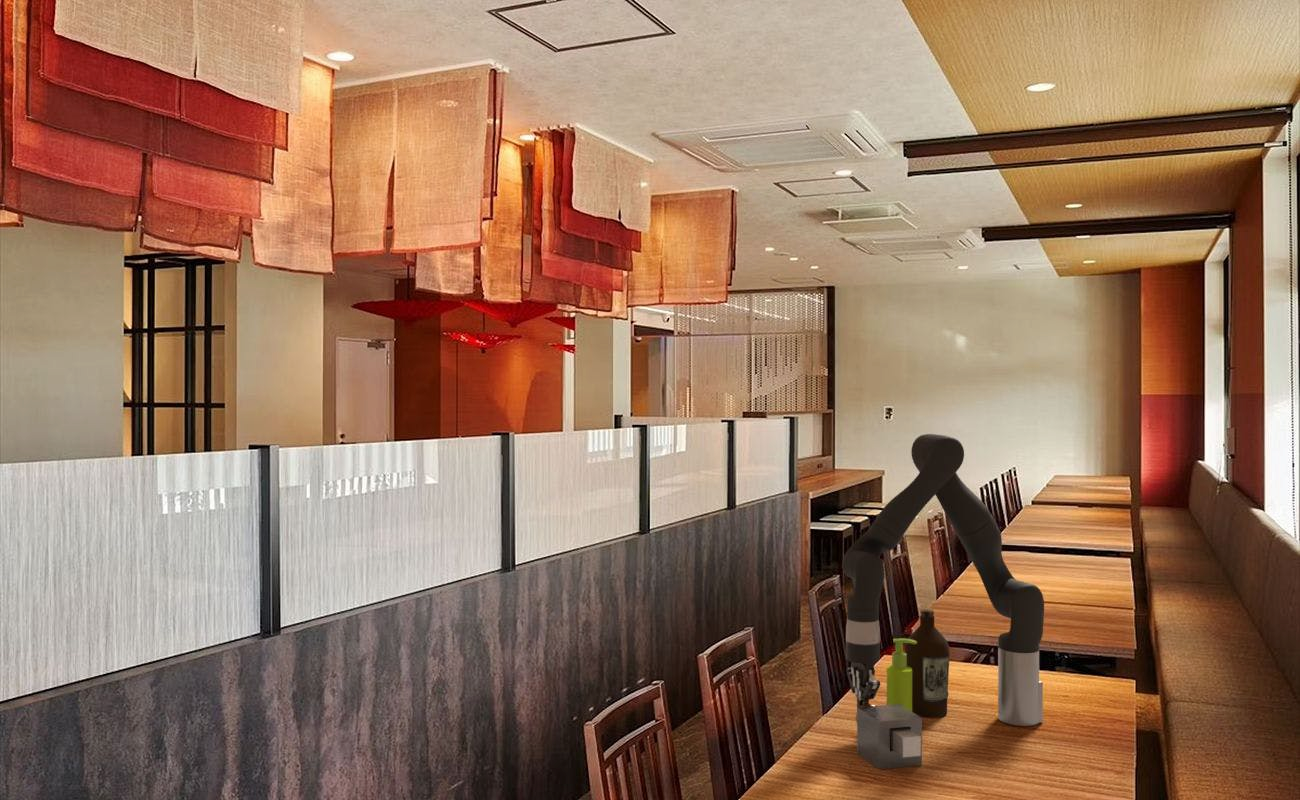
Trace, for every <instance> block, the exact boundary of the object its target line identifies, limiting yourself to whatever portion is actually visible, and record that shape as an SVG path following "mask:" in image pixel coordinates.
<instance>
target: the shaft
mask: <svg viewBox="0 0 1300 800" xmlns="http://www.w3.org/2000/svg"><path fill="white" fill-rule="evenodd" d="M869 706H876V705H875V704H873V703H869V704H864V705H863V706H861V707H869ZM855 721H856V722H855V723H857V713H856V714H855ZM890 748H891V749H892V750H893V751H895V752H896V753H897V754H899V755H900V756H902V757H913V756H921V736H920V735H918V734H916V733H915V732H913V731H912V730H910V729H909V728H907V727H900V728H890Z"/></svg>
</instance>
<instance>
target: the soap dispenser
mask: <svg viewBox="0 0 1300 800" xmlns="http://www.w3.org/2000/svg"><path fill="white" fill-rule="evenodd" d="M892 640H893V644H895V650H894V652H892V653H891V665H888V666H886V705H893V704H900V705H902V706H903V707H905V708H907V709H908V710H910V711H911V712H912V668H911V667H908V666H907V654H906V653H905V651H904V644H906V643H911V644H916V643H917V641H915V640H911V639H908V638H905V637H904V638H903V637H902V638H893V639H892Z"/></svg>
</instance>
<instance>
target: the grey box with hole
mask: <svg viewBox="0 0 1300 800" xmlns="http://www.w3.org/2000/svg"><path fill="white" fill-rule="evenodd" d="M856 714H857V722H856V724H857V725H856V726H857V727H856V729H857V732H856V736H857V737H856V738H857V740H856V742H857V744H856V746H857V749H856V750H857V751H856V752H857V755H859V756H860V757H861V758H862V759H864V760H865V761H867V763H869V764H871V765H872V766H873V767H874V768H876V770H878V771H879V770H887V769H898V768H909V767H915V766H916V767H918V766H922V765H923V717H920V716H918V715H916V714H915V713H913V712H911V711H910V710H908V709H907V708H905V707H903V706H902V705H900V704H893V705H887V704H885V705H875V706H869V707H857V706H856ZM900 727H907V728H909V729H910V730H912V731H913V732H915V733H916V734H918V735H920V736H921V756H913V757H902V756H900V755H899V754H897V753H896V752H895V751H893V750H892V749H891V748H890V728H900Z"/></svg>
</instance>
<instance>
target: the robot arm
mask: <svg viewBox="0 0 1300 800" xmlns="http://www.w3.org/2000/svg"><path fill="white" fill-rule="evenodd" d="M910 451H911V452H910V453H911V459H912V462H913V464H914V466H915V468H916V469H917V470H918V472H919V473H918V474H917V476H916V477H915V478H914V479H913V480H912V481H911V482H910V484H909V485H907V486H906V487H905V488H904V489H903V490H902V491H901V492H899V493H897V495H896V496H894V497H893V498H892V499H891V500H889V502H888V503H887V504H885V506H884V507H883V508H882V510H881V511H880V512H879V514H878V515H877V517H876V518H875V520H874V521H873V522H872V524H871V525H870V527H869V528H868V530H867V531H866V532H865V533H864V534H862V535H861V536H860V537H859V538H858V539H857V540H856V541H855V542H854V543H853V544H852V545H851V546H850V547H849V549H848V550H847V551H845V552H846V553H845V554H844V556H843V559H842V564H841V567H842V572H843V573H844V575H845V576H846V577H848V578H849V579H852V580H854V581H855V585H854V591H853V592H851V593H850V594H848V596H847V601H846V602H847V603H846V625H845V659H846V660H847V661H849V662H850V667H847V668H846V669H845V671H846V675H847V678H848V682H849V687H850V689H851V692H852V693H851V694H854V695H855V699H856V708H857V707H861V706H863V705H864V704H870V700H875V697H876V695H877V693H878V691H879V689H880V687H881V682H880V680H877V679H876V678H875V674H876V671H875V663H878V662H879V661H880V660H881V629H880V621H879V619H880V615H879V614H880V612H879V610H880V608H879V607H880V606H879V601H880V598H881V594H882V591H883V590H882V589H883V584H884V582H885V581H884V580H885V566H884V562H883V561H882V559H881V557H880V556H881V555H882V554H883V553H885V552H889V551H892V550H893V549H895V548H896V546H897V545H898V543H899V542H900V541H901V539H902V538H903V536H904V535H905V534H906V532H907V530H908V529H909V527H910V526H911V524H912V523H913V522H914V520H915V519H916V518H917V516H918V515H919V514H920V513H921V511H922V510H923V509H924V507H925V506H926V505H927V504H929V502H930V501H931V500H932V499H933V498H934V496H936V498H937V501H938V503H939V504H940V506H941V508H942V510H943V511H944V514H945V515H946V517H947V519H948V521H949V522H950V524H951V526H952V528H953V531H954V532H955V534H956V535H957V537H958V539H959V541H960V543H961V545H962V547H964V549H965V552H966V553H967V555H968V557H969V558H970V560H971V562H972V564H973V566H974V567H975V569H976V571H977V572H978V574H979V577H980V580H981V582H982V584H983V586H984V590H985V591H986V594H987V596H988V599H989V601H990V602H991V605H992V607H993V608H994V610H995V611H996V612H997V613H998V614H999V615H1001V616H1002V617H1005V618H1009V619H1010V628H1009V631H1008V632H1003V633H1001V634H999V636H998V640H997V641H998V643H997V644H998V647H997V648H998V650H997V655H998V659H997V660H998V661H997V663H998V666H997V669H998V670H997V672H998V673H997V680H998V681H997V682H998V683H997V688H998V689H997V693H998V694H997V696H998V697H997V698H998V699H997V704H998V705H997V707H998V708H997V718H998V720H999V721H1000V722H1002V723H1005V724H1009V725H1012V726H1017V727H1019V726H1020V727H1031V726H1036V725H1038V724H1040V723H1043V721H1044V715H1043V714H1044V712H1043V710H1044V709H1043V708H1044V703H1043V702H1044V699H1043V698H1044V697H1043V696H1044V684H1043V682H1042V680H1040V645H1041V640H1042V638H1043V636H1044V635H1043V634H1044V622H1045V621H1044V620H1045V600H1044V595H1043V593H1042V591H1041V589H1040V588H1039V587H1038V586H1037V585H1036V584H1032V583H1029V582H1024V581H1022V580H1017V579H1016V578H1015V577H1014V576H1013V574H1012V573H1011V571H1010V569H1009V568H1008V566H1007V565H1006V563H1005V561H1004V558H1003V554H1002V553H1003V552H1002V550H1003V548H1002V545H1003V543H1002V539H1003V538H1002V532H1001V530H1000V528H999V526H998V524H997V522H996V521H995V518H994V517H993V515H992V513H991V511H990V510H989V508H988V507H987V506H986V504H984V502H983V501H982V500H981V499H980V498H979V497H978V496H977V495H976V494H975V493H974V492H973V491H972V490H971V489H970V488H969V487H968V486H967V485H966V484H965V483H964V482H963V481H962V480H961V478H960V477H959V475H958V473H957V471H958V470H959V469H960V468H961V466H962V464H963V462H964V460H965V459H964V458H965V450H964V446H963V444H962V443H961V442H960V440H958V439H957V438H955V437H953V436H950V435H943V434H935V433H927V434H921V435H919V436H918V437H917V438H915V440H914V441H913V443H912V446H911V449H910Z"/></svg>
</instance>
